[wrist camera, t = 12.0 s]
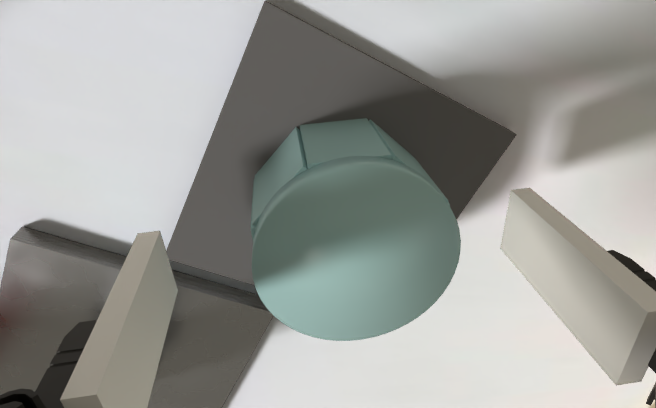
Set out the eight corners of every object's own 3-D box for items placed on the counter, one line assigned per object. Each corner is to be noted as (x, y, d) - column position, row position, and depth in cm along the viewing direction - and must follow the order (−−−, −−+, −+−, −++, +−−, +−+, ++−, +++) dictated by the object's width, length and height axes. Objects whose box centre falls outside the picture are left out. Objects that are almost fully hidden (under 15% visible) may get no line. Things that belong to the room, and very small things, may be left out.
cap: (242, 128, 17) (234, 182, 13) (420, 110, 18) (470, 155, 13) (268, 280, 21) (269, 361, 17) (413, 261, 21) (450, 335, 17)
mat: (166, 250, 20) (163, 258, 20) (264, 0, 15) (264, 1, 15) (379, 315, 24) (382, 323, 23) (509, 130, 19) (516, 134, 19)
